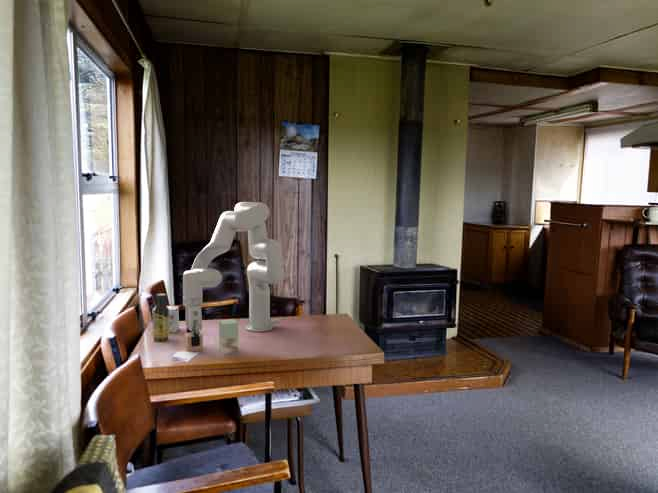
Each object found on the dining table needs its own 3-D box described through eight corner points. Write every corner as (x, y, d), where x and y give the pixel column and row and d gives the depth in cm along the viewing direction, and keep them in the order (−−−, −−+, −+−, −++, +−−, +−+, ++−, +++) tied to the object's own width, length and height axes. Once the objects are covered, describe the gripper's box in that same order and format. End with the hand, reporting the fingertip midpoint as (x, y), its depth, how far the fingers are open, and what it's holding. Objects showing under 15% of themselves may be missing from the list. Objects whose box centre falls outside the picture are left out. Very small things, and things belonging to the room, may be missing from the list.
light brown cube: (199, 345, 205) (199, 331, 204) (202, 349, 200) (202, 335, 199) (184, 347, 202) (184, 333, 201) (187, 351, 197) (187, 336, 196)
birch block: (233, 347, 202) (233, 333, 202) (238, 352, 197) (238, 337, 196) (219, 349, 200) (219, 335, 199) (223, 354, 194) (223, 339, 194)
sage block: (233, 333, 202) (233, 319, 201) (238, 337, 196) (238, 322, 196) (219, 335, 199) (219, 320, 198) (223, 339, 194) (223, 324, 193)
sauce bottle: (150, 340, 210) (149, 294, 208) (161, 336, 216) (160, 292, 213) (161, 342, 207) (160, 296, 205) (172, 339, 212) (171, 293, 210)
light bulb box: (151, 332, 222) (151, 309, 220) (155, 328, 228) (155, 305, 227) (176, 332, 223) (175, 309, 221) (179, 328, 229) (179, 305, 228)
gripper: (207, 304, 193) (207, 347, 194) (197, 296, 208) (197, 336, 210) (187, 306, 189) (187, 349, 191) (179, 297, 205) (179, 338, 206)
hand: (192, 342), depth 200 cm, fingers open, 9 cm apart
